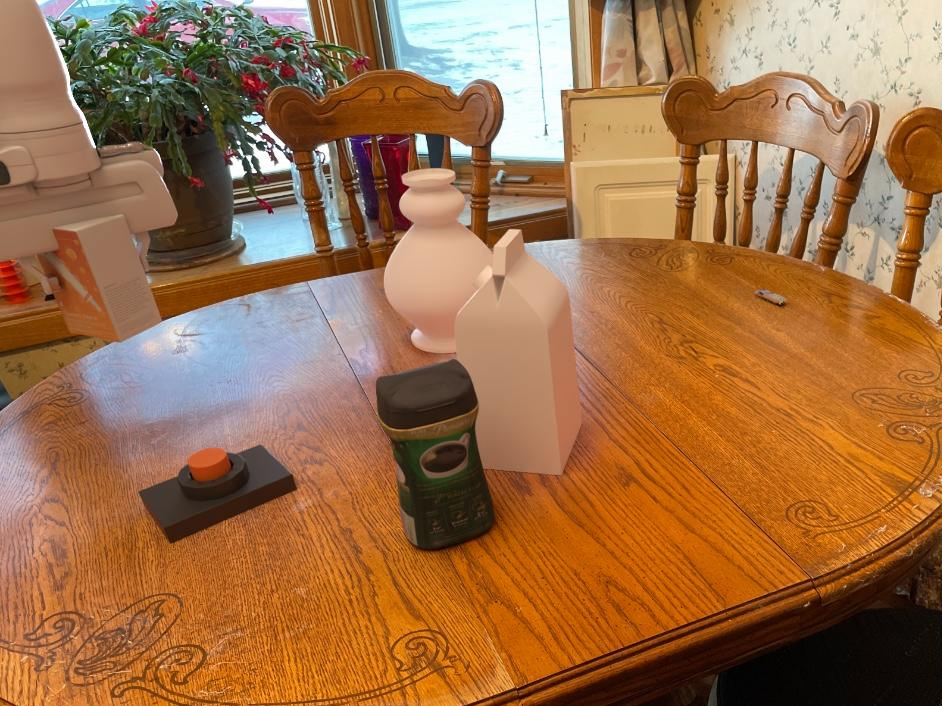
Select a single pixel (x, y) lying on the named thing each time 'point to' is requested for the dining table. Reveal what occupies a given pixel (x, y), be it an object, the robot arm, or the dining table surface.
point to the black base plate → (216, 493)
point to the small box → (101, 280)
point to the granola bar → (771, 295)
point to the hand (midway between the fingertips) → (98, 281)
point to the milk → (521, 362)
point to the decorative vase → (434, 260)
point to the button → (209, 464)
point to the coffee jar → (436, 453)
